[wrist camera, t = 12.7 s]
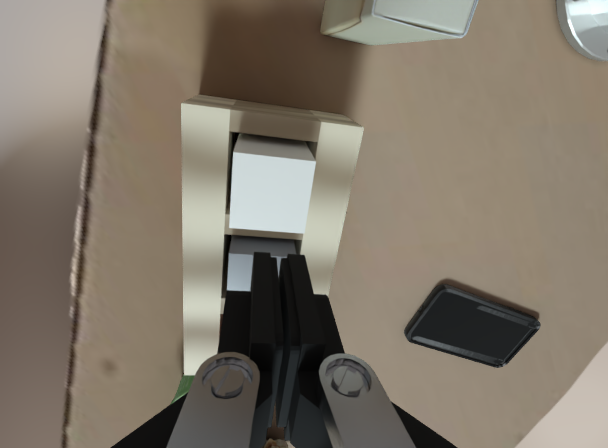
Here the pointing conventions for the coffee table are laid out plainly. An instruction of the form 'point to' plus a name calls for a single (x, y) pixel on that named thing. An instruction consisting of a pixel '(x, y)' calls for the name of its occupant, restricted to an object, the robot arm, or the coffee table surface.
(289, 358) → the robot arm
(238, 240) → the grey rectangular block
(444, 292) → the phone
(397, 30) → the skincare box
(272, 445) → the pine cone
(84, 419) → the coffee table surface
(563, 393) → the coffee table surface
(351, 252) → the coffee table surface
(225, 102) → the wooden compartment tray
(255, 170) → the white key
